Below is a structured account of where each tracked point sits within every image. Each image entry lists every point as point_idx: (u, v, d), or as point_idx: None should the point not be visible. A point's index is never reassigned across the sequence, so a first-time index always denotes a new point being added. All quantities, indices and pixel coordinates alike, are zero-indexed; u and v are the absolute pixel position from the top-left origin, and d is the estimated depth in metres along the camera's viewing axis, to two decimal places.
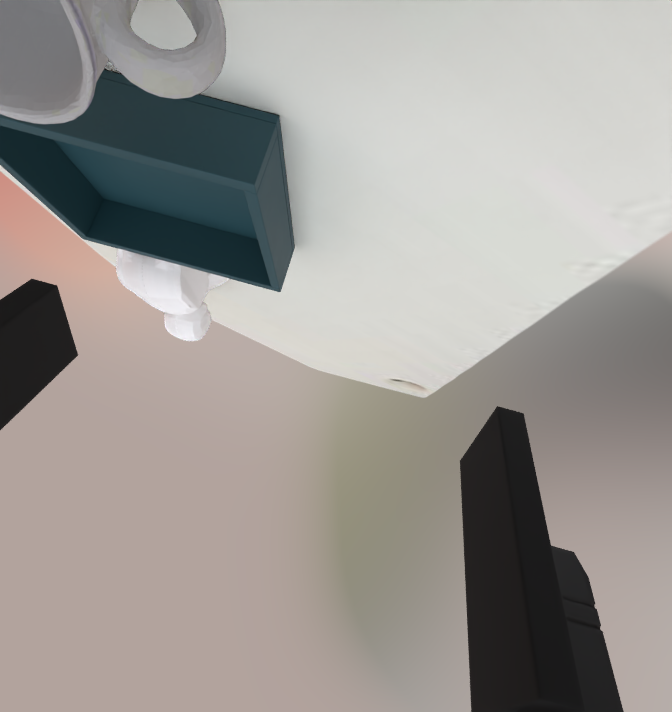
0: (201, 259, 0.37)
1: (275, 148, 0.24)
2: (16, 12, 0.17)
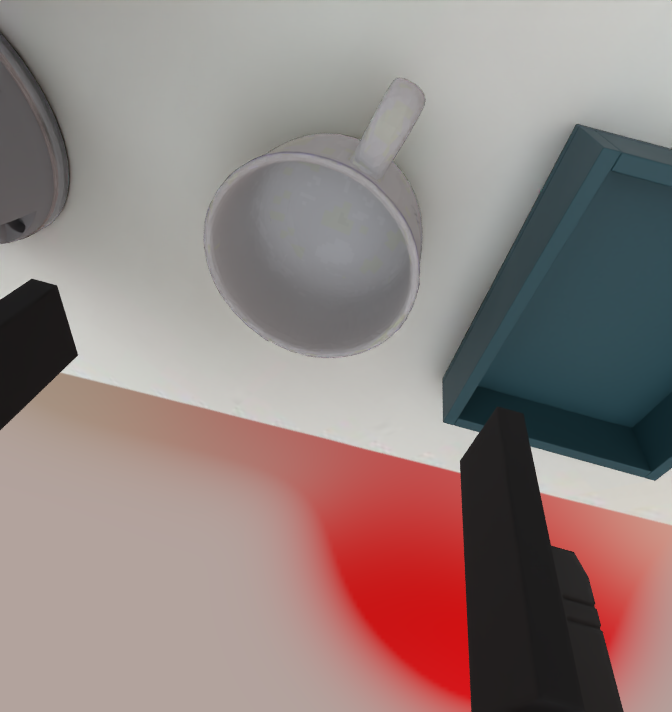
0: None
1: (607, 135, 0.20)
2: (398, 282, 0.24)
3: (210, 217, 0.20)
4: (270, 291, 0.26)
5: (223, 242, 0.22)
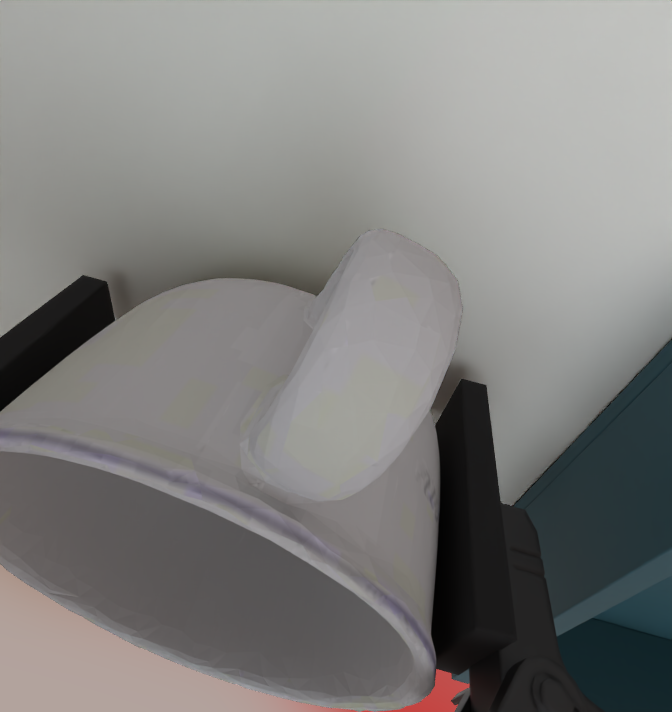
0: None
1: None
2: None
3: None
4: (163, 520, 0.14)
5: (25, 498, 0.11)
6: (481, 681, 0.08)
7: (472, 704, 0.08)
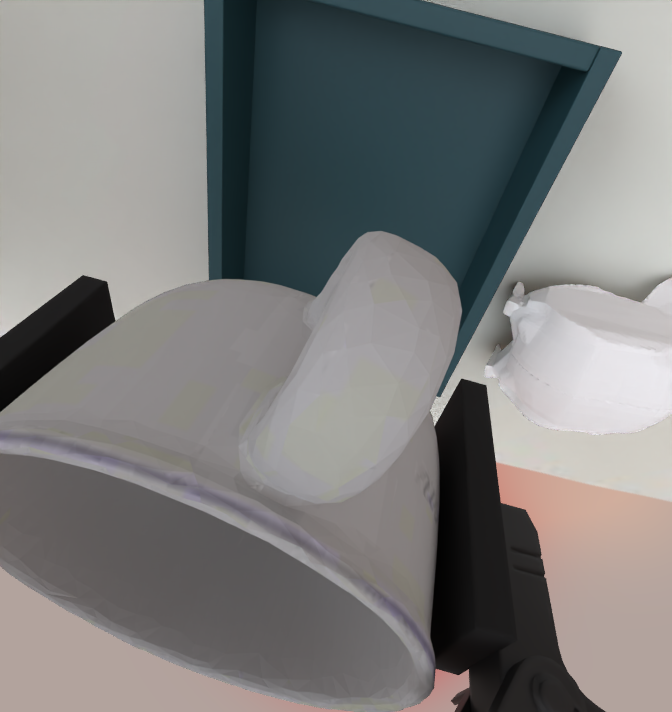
0: (504, 230, 0.20)
1: None
2: None
3: None
4: (162, 521, 0.14)
5: (25, 499, 0.10)
6: (481, 681, 0.08)
7: (472, 704, 0.08)
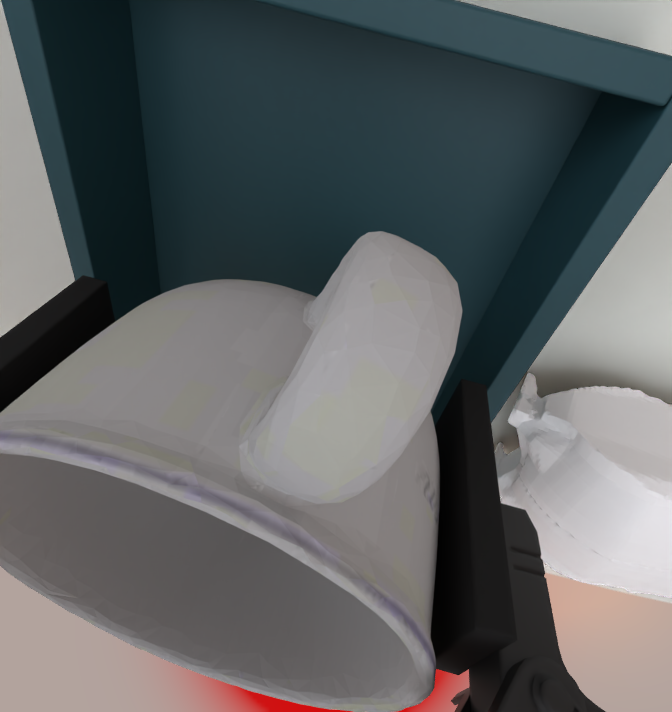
0: (511, 332, 0.14)
1: None
2: None
3: None
4: (162, 521, 0.14)
5: (25, 499, 0.11)
6: (481, 681, 0.08)
7: (472, 704, 0.08)
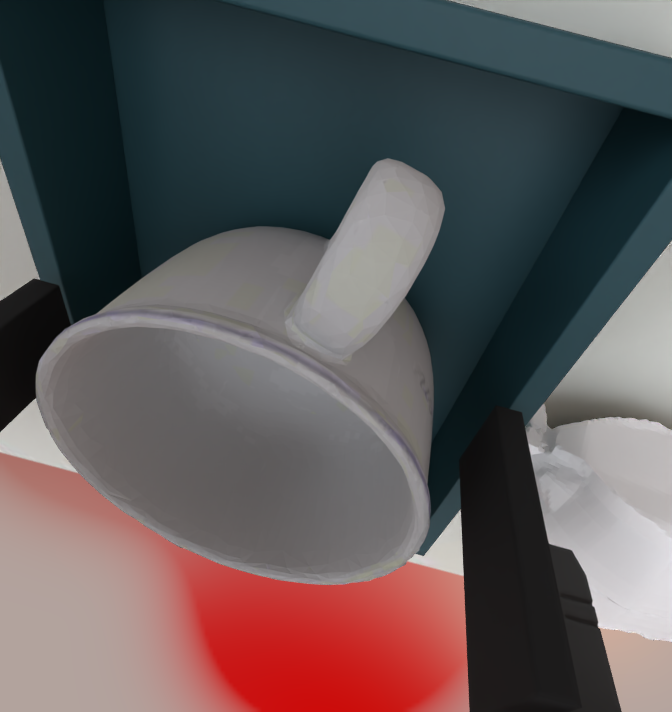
0: (521, 367, 0.12)
1: None
2: None
3: (42, 395, 0.11)
4: (196, 448, 0.16)
5: (92, 409, 0.13)
6: None
7: None
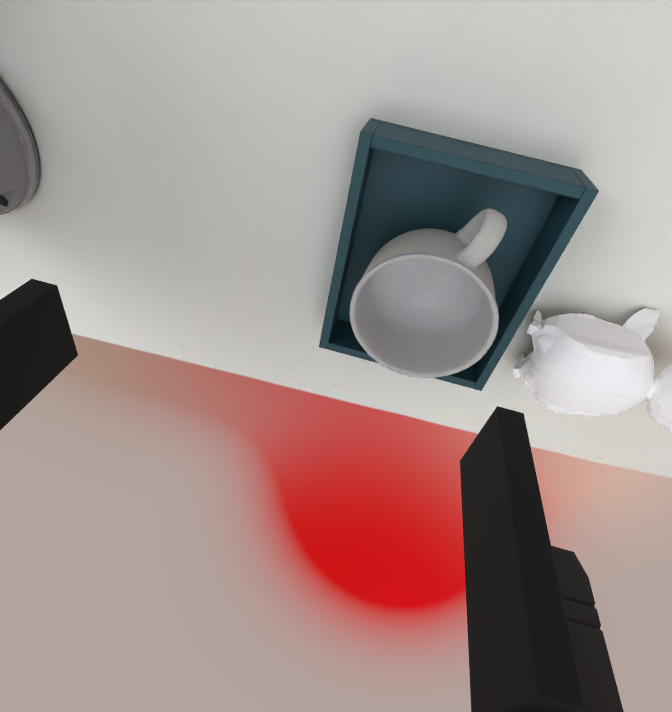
0: (529, 281, 0.32)
1: (385, 125, 0.29)
2: (474, 324, 0.34)
3: (359, 288, 0.30)
4: (380, 330, 0.36)
5: (359, 301, 0.32)
6: None
7: None
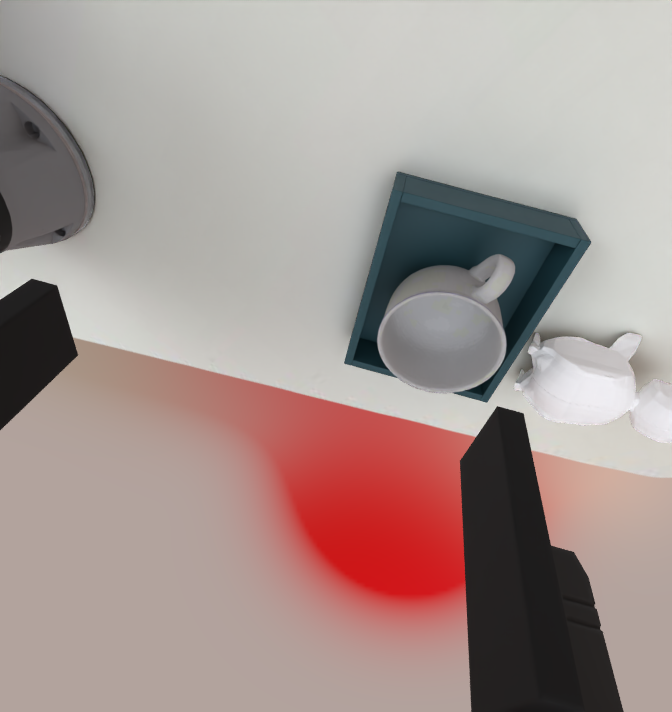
0: (531, 312, 0.37)
1: (410, 179, 0.34)
2: (482, 346, 0.40)
3: (387, 318, 0.35)
4: (400, 350, 0.41)
5: (385, 327, 0.37)
6: None
7: None
